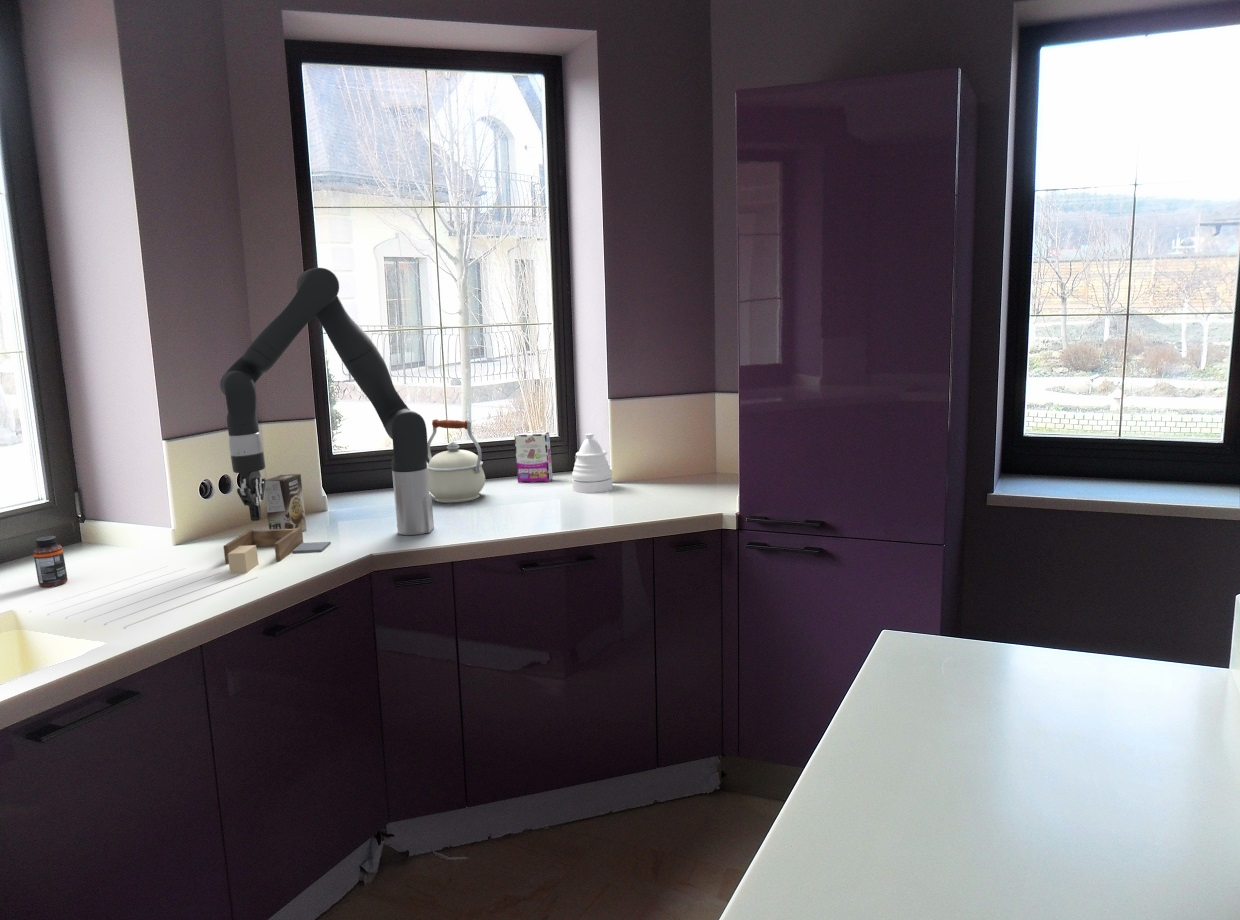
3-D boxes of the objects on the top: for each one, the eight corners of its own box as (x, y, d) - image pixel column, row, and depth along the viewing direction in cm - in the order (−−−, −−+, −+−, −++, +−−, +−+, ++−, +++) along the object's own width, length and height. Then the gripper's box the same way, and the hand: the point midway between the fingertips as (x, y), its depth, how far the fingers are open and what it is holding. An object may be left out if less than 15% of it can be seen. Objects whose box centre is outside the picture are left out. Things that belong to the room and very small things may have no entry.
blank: (258, 564, 229) (256, 545, 228) (247, 573, 222) (244, 553, 221) (242, 565, 229) (239, 545, 228) (230, 574, 222) (227, 553, 221)
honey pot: (612, 492, 292) (609, 435, 289) (571, 493, 293) (568, 437, 289) (613, 483, 305) (610, 429, 302) (573, 485, 305) (570, 431, 302)
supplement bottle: (47, 581, 223) (39, 535, 221) (73, 579, 223) (65, 533, 221) (33, 589, 217) (25, 541, 215) (60, 587, 217) (52, 540, 215)
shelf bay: (303, 543, 247) (301, 526, 246) (280, 561, 231) (278, 543, 230) (252, 545, 247) (250, 529, 247) (225, 563, 231) (223, 546, 230)
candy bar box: (553, 479, 317) (550, 431, 314) (549, 482, 312) (546, 434, 309) (521, 479, 319) (517, 432, 316) (517, 482, 314) (513, 434, 311)
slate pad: (330, 543, 245) (330, 541, 245) (321, 551, 238) (321, 549, 237) (302, 545, 245) (302, 542, 245) (292, 553, 238) (292, 550, 238)
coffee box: (290, 538, 253) (283, 480, 250) (268, 538, 254) (262, 480, 252) (307, 529, 262) (301, 473, 259) (287, 529, 263) (280, 473, 260)
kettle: (502, 494, 296) (497, 417, 292) (463, 507, 281) (457, 425, 277) (444, 489, 309) (438, 414, 305) (404, 500, 294) (396, 422, 290)
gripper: (251, 455, 223) (261, 525, 226) (271, 446, 236) (280, 512, 239) (220, 457, 223) (231, 527, 226) (242, 448, 236) (251, 514, 239)
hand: (256, 519), depth 233 cm, fingers closed
